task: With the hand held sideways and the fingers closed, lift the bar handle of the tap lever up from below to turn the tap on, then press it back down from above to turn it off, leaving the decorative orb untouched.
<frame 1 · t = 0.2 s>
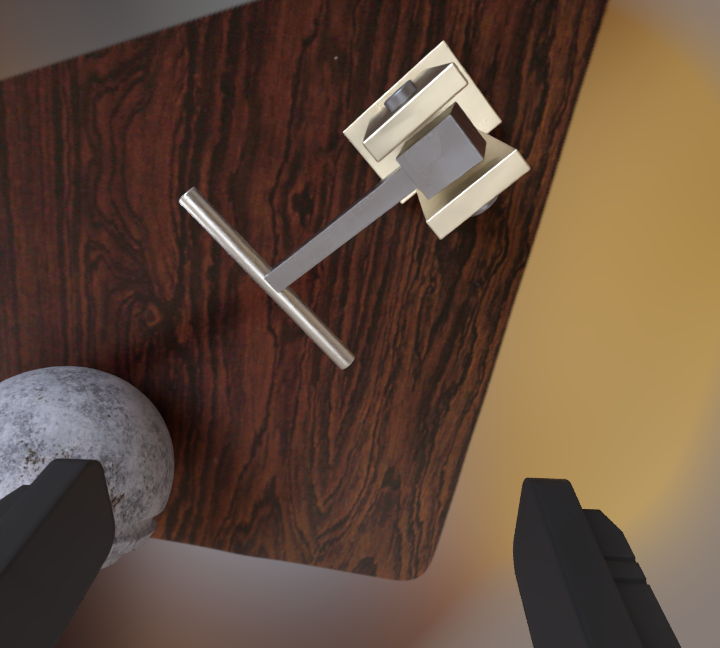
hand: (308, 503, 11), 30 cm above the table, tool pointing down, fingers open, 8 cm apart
tap lever: (354, 219, 26), point 13 cm above the table, hinge at -15.0°
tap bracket: (420, 125, 36), on the table
decorative orb: (110, 411, 46), on the table
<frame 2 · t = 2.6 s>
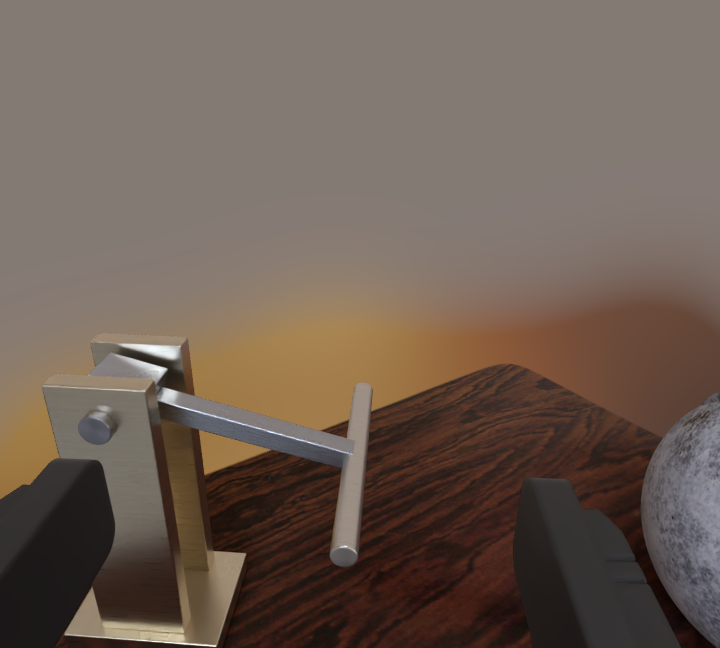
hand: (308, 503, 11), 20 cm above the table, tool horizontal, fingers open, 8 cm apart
tap lever: (233, 422, 26), point 13 cm above the table, hinge at -15.0°
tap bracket: (164, 605, 32), on the table
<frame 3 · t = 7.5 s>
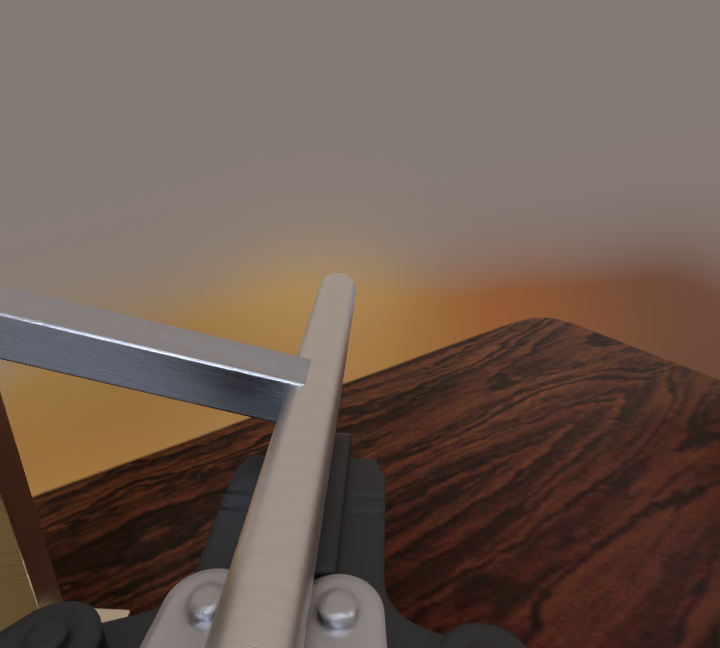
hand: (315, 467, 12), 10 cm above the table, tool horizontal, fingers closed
tap lever: (15, 324, 11), point 13 cm above the table, hinge at -13.6°, touching gripper
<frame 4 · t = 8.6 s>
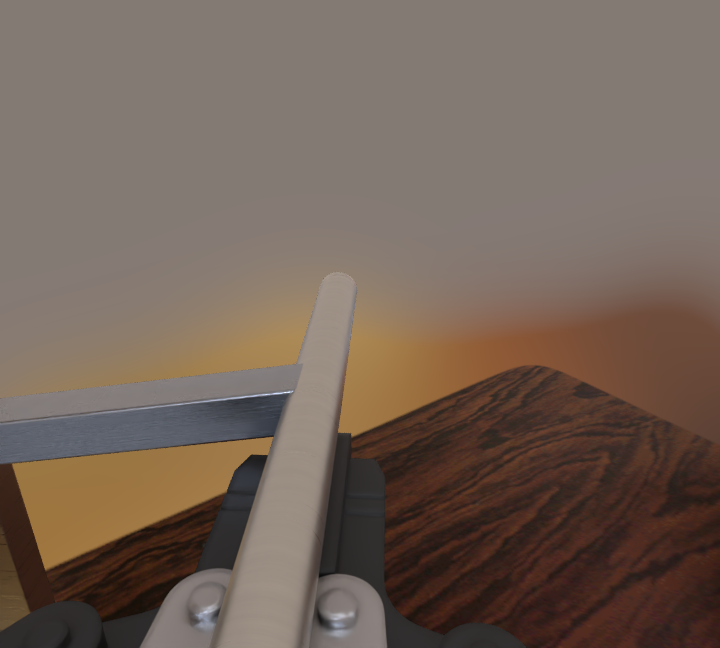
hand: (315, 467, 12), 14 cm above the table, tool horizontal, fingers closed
tap lever: (35, 426, 12), point 15 cm above the table, hinge at 9.0°, touching gripper
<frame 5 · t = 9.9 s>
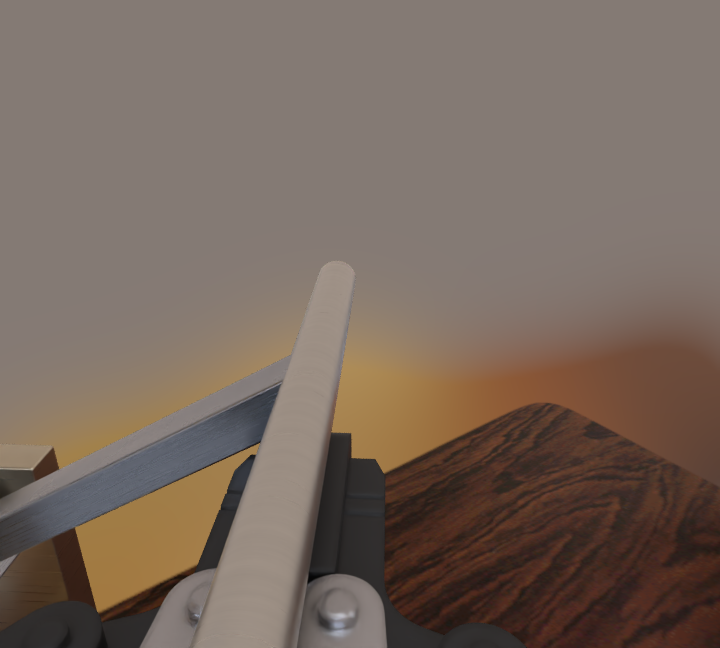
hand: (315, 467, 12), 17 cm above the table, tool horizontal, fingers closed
tap lever: (82, 490, 12), point 17 cm above the table, hinge at 29.9°, touching gripper
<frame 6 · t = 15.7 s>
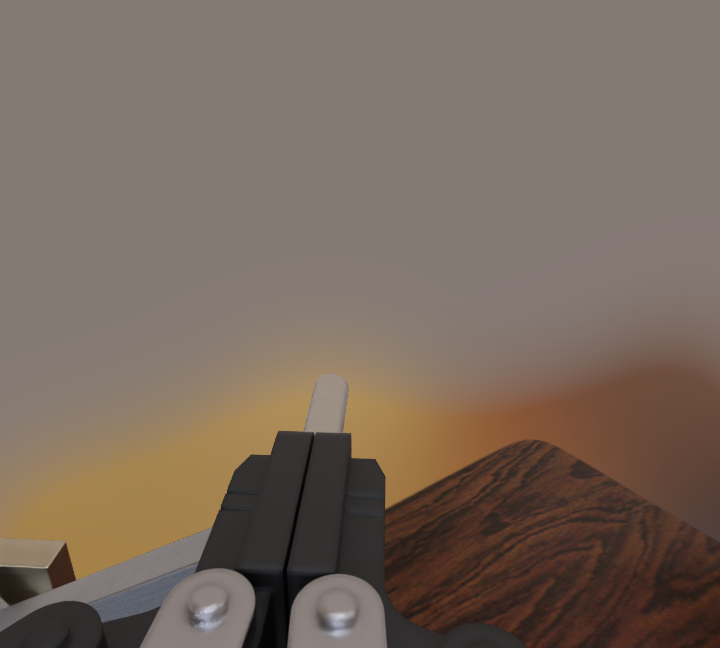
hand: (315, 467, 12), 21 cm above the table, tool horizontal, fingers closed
tap lever: (97, 603, 14), point 16 cm above the table, hinge at 28.4°, touching gripper
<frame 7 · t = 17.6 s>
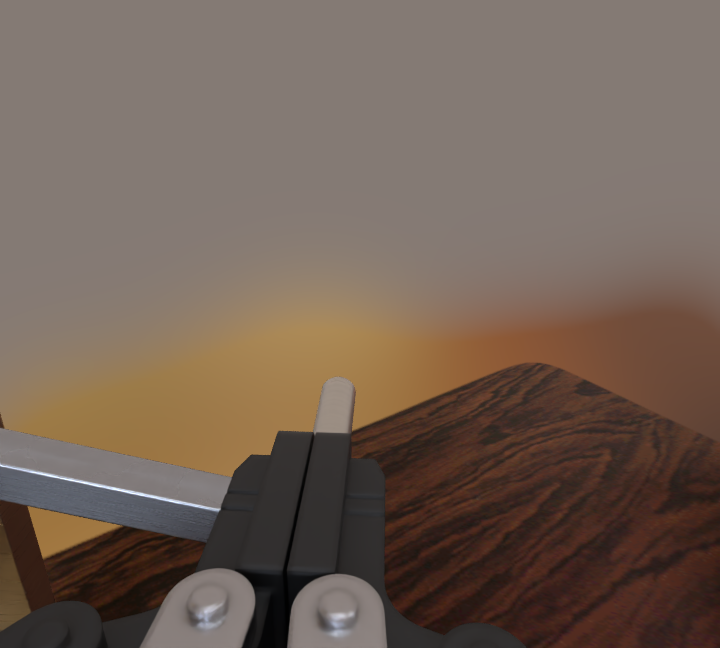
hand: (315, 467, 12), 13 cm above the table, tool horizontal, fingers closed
tap lever: (49, 473, 12), point 13 cm above the table, hinge at -12.1°, touching gripper
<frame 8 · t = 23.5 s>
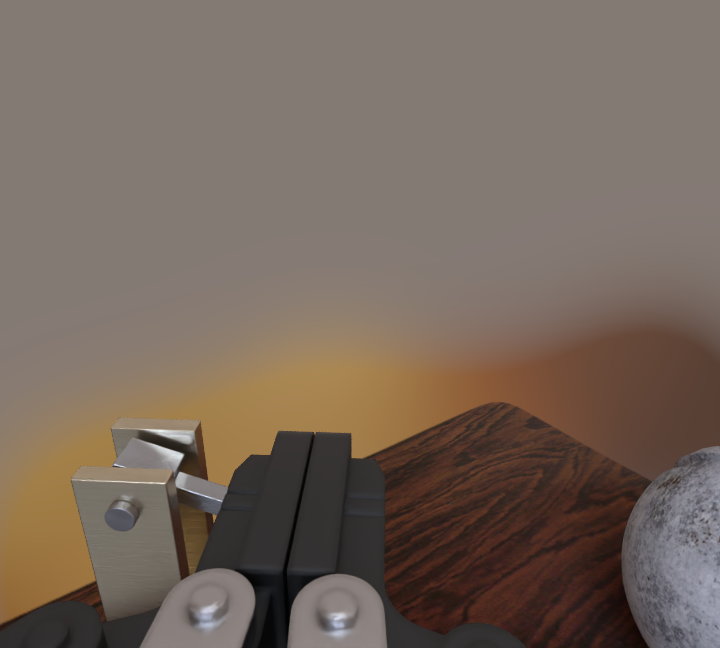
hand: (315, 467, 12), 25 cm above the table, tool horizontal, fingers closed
tap lever: (242, 507, 28), point 12 cm above the table, hinge at -19.8°
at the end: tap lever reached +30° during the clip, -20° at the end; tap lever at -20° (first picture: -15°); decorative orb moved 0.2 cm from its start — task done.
